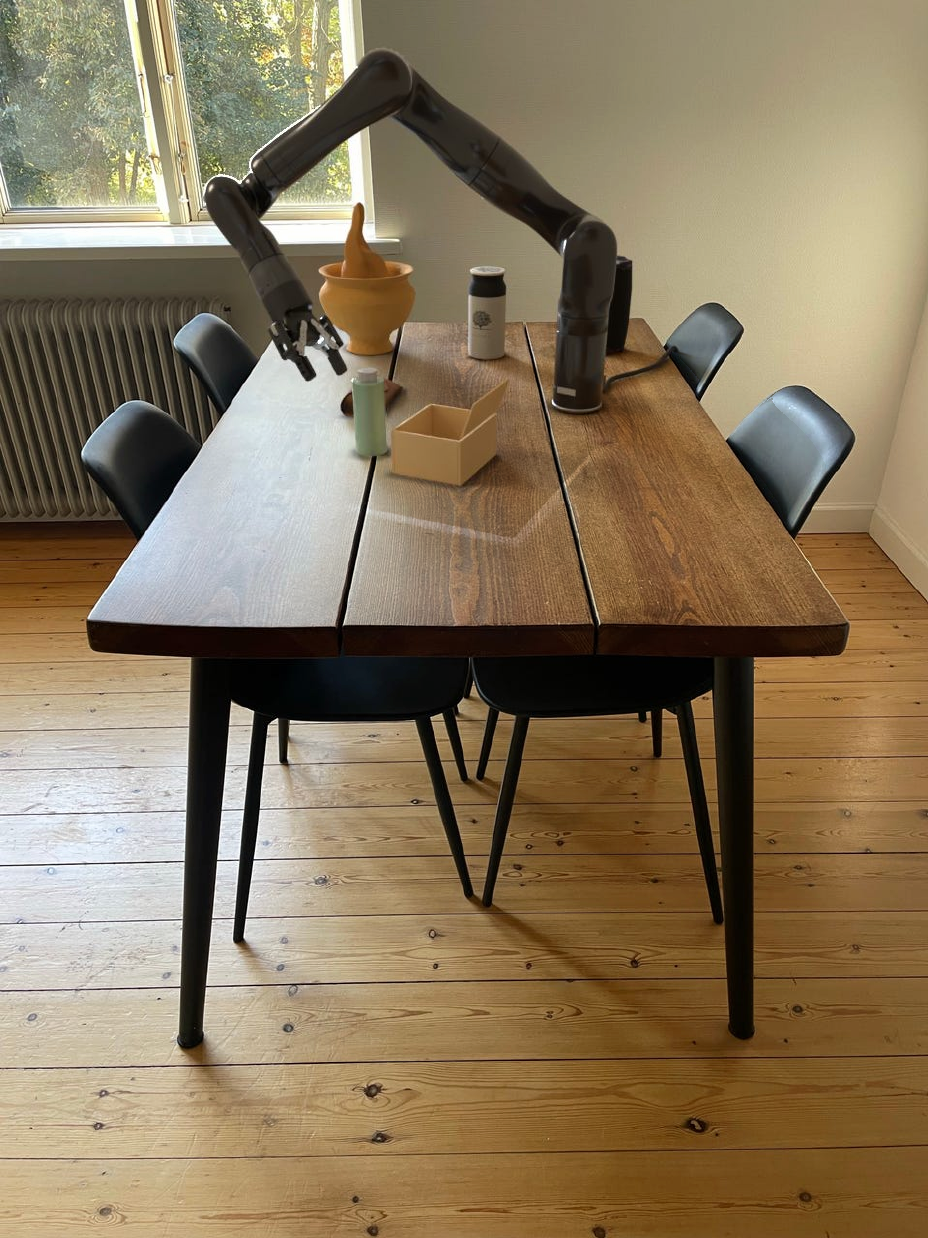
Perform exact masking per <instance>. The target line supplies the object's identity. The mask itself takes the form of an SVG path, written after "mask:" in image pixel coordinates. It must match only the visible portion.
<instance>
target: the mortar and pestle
mask: <svg viewBox="0 0 928 1238" xmlns="http://www.w3.org/2000/svg"><path fill="white" fill-rule="evenodd" d="M365 210H366V209H365V207H364V204H363V203H362V202H360V201H359V202H356V204H355V205H354V206H353V208H352V214H351V223H350V228H349V230H348V232H347V235H346V239H345V241H344V242H345V243H344V252H343V253H344V261H342V262H341V261H340V262H334V263H331V264H327V265H324V266H322V267H320V268H318V272H319V274H320V275H321V276H322V277H323V278H324V279H325V282H324V284H323V285H322V286H321V288H320V290H319V293H318V297H319V302H320V304H321V307H322V309H323V311H324V313H325V315H326V316H328V318H329V319H330V321H331V323H332V324H333V326H334V327H335V328H337V329H338V330H339V331H342V332H344V333H346V335H347V336H348V338H349V342H348V345H347V346H346V351H348V352H349V353H351V354H355V355H363V356H365V355H366V356H374V355H381V354H387V353H389V352H391V351H393V350H394V345H393V344H392V341H391V339H390V338H391V334H392V333H393V332H394V331H396V330H398V329H399V328H401V327H402V326H403V325H404V324H405V323H406V322H407V320H408V319H409V316H410V315H411V313H412V310H413V308H414V305H415V301H416V294H417V293H416V290H415V288H414V286H413V285H412V284H411V282H410V281H409V280H408V279H409V277H410V275H411V274H412V273H413V272H414V270H415V269H414V267H413V266H411V265H409V264H406V263H403V262H396V261H388V260H384V258H383V257H382V256H381V255H380V254H379V253H378V252H375V251H373V250H372V248H371V247H370V246H369V243H367V241H366V239H365V236H364V233H363V229H364V224H365V218H366V215H365V214H366V213H365Z"/></svg>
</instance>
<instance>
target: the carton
mask: <svg viewBox="0 0 928 1238" xmlns="http://www.w3.org/2000/svg"><path fill="white" fill-rule="evenodd" d="M470 410H471V409H467V408H461V407H455V406H450V405H443V404H436V403H429V404H427V405H426V406H425V407H423V408H422V409H420V410H419V411H417V412H416V413H414V414H413V415H411V416H409V417H408V418H407V419H405V420H404V421H402V422H400V423H399V424H398V425H396V426H395V427H393V428H392V429H391V430H390V453H391V454H390V455H391V472H392V474H396V475H402V476H406V477H412V478H417V479H421V480H427V481H433V482H439V483H444V484H450V485H455V486H459V487H460V486H462V485H463V484H464V483H465V482H467V481H468V480H469V479H470V478H472V477H473V476H474V475H475V474H476V473H477V472H478V471H480V469H481V468H483V467H484V466H485V465H486V464H487V463H488V462H489V461H491V460H492V459H493V458H494V457H495V456H496V455H497V421H498V419H497V418H498V417H497V416H498V415H497V413H496V412H495V413H494V414H493V415H491V416H490V417H489V418H487V419H486V420H485V421H484V422H482V423H481V424H480V425H479V426H477V427H476V428H475V429H473V430H472V431H471V432H470V433H468V434H467V435H466V436H465V437H463V438H460V437H461V434H462V432H463V429H464V426H465V424H466V421H467V418H468V415H469V413H470Z"/></svg>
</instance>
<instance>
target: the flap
mask: <svg viewBox="0 0 928 1238" xmlns="http://www.w3.org/2000/svg"><path fill="white" fill-rule="evenodd" d="M510 380H511V378H510V377H507V378H506V379H505V380H503V381H501V383H499V384H498V385H497V386H495V387H494V388H492V389H491V390H490V391H488V392H487V393H486V394H485V395H483V396H482V397H480V398H479V399H477V400H476V401H475V402H473V403H472V404H471V407H470V409H469V410H470V413H469V415H468V418H467V421H466V424H465V426H464V429H463V432H462V434H461V437H460V438H463V437H465V436H466V435H467V434H468V433H470V432H471V431H472V430H473V429H475V428H476V427H477V426H479V425H480V424H481V423H482V422H484V421H485V420H486V419H487V418H489V417H490V416H491V415H493V414H494V413H495V414H496V413H497V412H498V410H499V409H500V406H501V403H502V401H503V398H504V395H505V393H506V390H507V388H508V385H509V383H510Z"/></svg>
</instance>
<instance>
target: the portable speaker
mask: <svg viewBox="0 0 928 1238" xmlns="http://www.w3.org/2000/svg"><path fill="white" fill-rule="evenodd" d="M633 262H634V261H633V260H632V259H629V258H627V257H626V256H624V255H618V254H617V263H616V272H615V281H614V291H613V297H612V300H611V303H610V307H609V317H608V329H607V342H606V354H605V356H610V354H611V353H612V352H616V351H619V352H621V353H625V345H626V341H627V337H628V331H629V325H630V316H631V305H632V295H633Z"/></svg>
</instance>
